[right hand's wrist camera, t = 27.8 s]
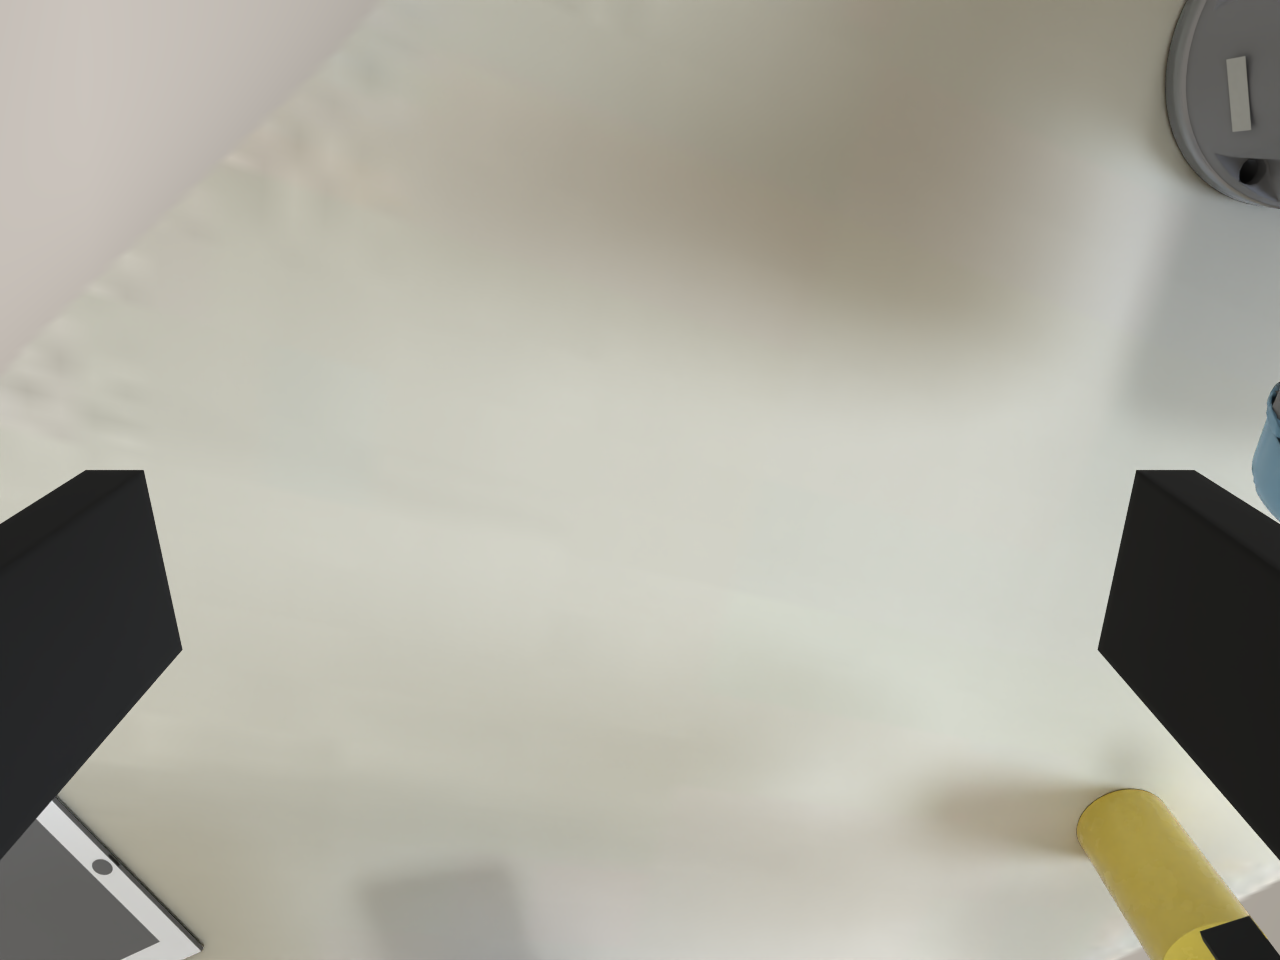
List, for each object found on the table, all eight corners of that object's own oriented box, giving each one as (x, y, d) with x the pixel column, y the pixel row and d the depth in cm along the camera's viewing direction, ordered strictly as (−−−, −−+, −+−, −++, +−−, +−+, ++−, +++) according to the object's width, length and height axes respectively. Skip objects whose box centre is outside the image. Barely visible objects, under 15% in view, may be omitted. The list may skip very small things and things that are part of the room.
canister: (1160, 777, 64) (1264, 909, 53) (1175, 845, 66) (1277, 984, 56) (1068, 804, 65) (1152, 939, 54) (1086, 869, 67) (1170, 1011, 56)
